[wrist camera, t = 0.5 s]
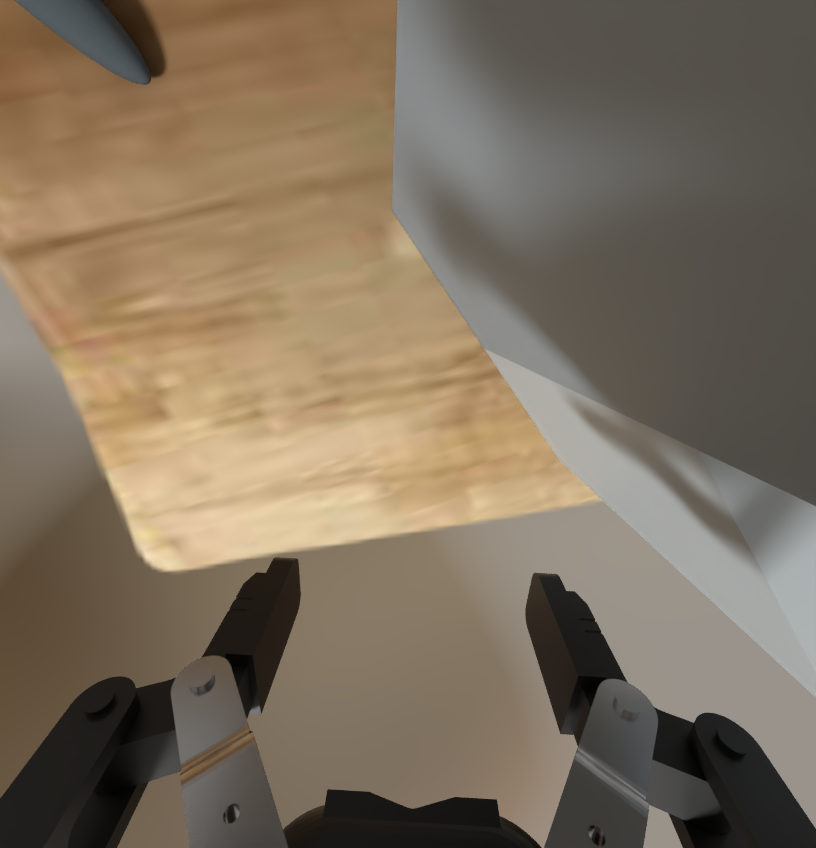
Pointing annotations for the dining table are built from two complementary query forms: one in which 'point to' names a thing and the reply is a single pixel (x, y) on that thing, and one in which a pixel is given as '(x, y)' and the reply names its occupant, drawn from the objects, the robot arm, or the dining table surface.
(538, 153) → the riser
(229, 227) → the dining table surface
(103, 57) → the paintbrush
